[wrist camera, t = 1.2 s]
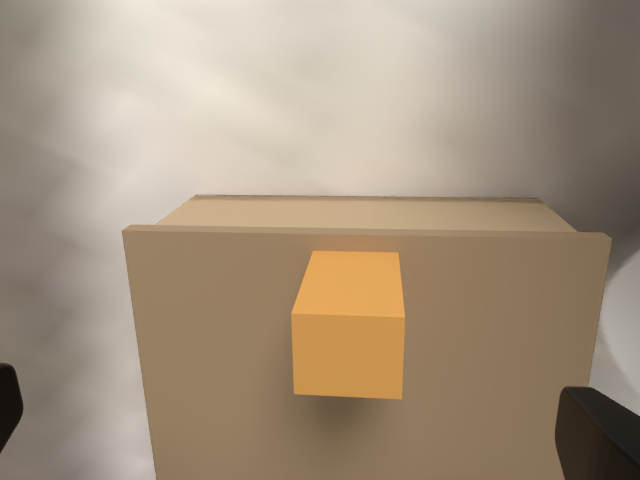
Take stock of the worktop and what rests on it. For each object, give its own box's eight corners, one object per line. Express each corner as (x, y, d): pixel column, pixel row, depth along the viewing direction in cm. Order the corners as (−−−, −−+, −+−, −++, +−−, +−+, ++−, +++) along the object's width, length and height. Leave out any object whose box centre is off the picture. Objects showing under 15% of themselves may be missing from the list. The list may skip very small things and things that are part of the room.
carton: (538, 198, 20) (589, 241, 15) (499, 534, 25) (527, 646, 20) (196, 194, 21) (143, 233, 16) (224, 514, 26) (190, 614, 21)
